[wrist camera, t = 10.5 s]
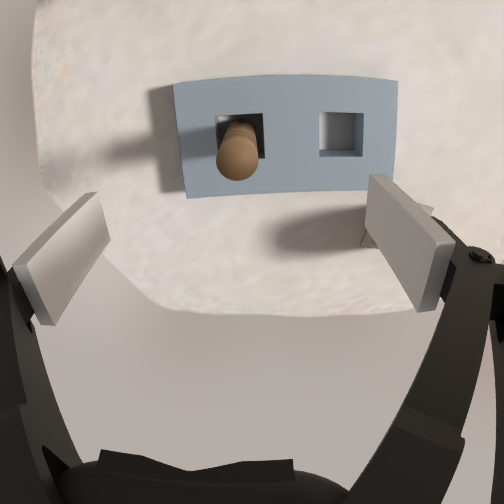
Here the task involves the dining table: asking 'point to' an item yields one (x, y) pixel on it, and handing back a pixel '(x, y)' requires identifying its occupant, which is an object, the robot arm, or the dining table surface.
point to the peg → (238, 151)
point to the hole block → (287, 132)
